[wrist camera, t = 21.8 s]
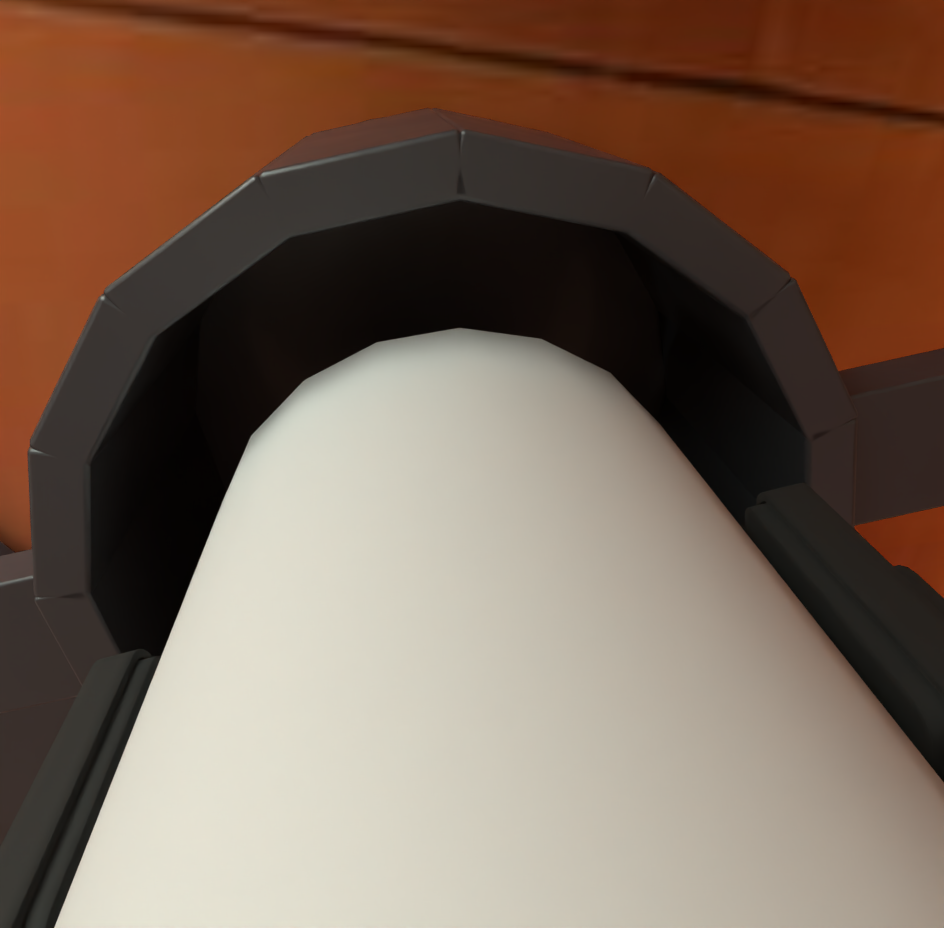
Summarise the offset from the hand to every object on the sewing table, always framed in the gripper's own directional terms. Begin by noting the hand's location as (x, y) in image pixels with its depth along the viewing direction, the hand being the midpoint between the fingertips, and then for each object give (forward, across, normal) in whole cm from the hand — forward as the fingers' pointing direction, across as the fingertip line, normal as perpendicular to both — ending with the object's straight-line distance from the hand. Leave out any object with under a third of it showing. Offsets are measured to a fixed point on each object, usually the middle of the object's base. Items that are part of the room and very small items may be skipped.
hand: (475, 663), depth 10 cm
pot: (+9, 0, 0) cm, 9 cm away
